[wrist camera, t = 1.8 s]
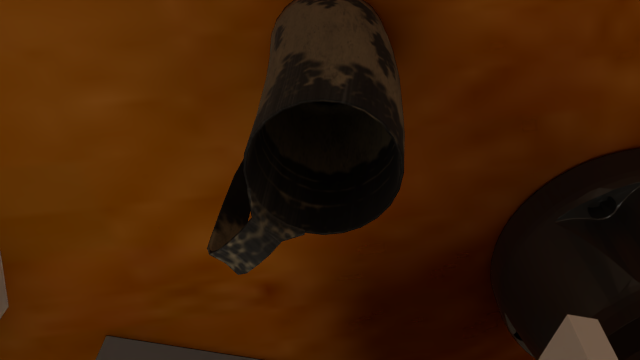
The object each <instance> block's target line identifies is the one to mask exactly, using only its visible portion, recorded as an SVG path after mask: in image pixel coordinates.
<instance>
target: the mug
mask: <svg viewBox="0 0 640 360" xmlns="http://www.w3.org/2000/svg"><path fill="white" fill-rule="evenodd" d="M404 139H405V134H404V119H403V108H402V98H401V88H400V78H399V74H398V70H397V66H396V62H395V58H394V53H393V50H392V47H391V44H390V41H389V39H388V36H387V34H386V32H385V30H384V27H383V24H382V22H381V19H380V18H379V16H378V15H377V13H376V12H375V11H374V9H373V8H372V7H371V6H370V5H369V4H368V3H366V2H365V1H364V0H294V1H292V2H291V3H290V4H289V5H287V6H286V7H285V9H284V10H283V11H282V13H281V14H280V16H279V17H278V18H277V20H276V23H275V26H274V29H273V31H272V35H271V47H270V59H269V65H268V71H267V77H266V81H265V85H264V89H263V93H262V96H261V100H260V104H259V108H258V112H257V116H256V119H255V122H254V125H253V128H252V131H251V134H250V137H249V140H248V143H247V146H246V149H245V152H244V159H243V161H242V163H241V164H240V166H239V168H238V170H237V172H236V174H235V175H234V178H233V180H232V183H231V185H230V188H229V190H228V192H227V195H226V197H225V200H224V202H223V205H222V208H221V211H220V213H219V216H218V219H217V221H216V224H215V227H214V230H213V232H212V235H211V238H210V241H209V244H208V248H207V249H208V252H209V255H211V256H213V257H215V258H217V259H219V260H221V261H223V262H224V263H226V264H227V265H228V266H229V267H230V268H231V269H232V270H233V271H235V272H236V273H237V274H238V275H240V274H245V273H248V272H249V271H250V270H252V269H253V268H254V267H256V266H257V265H258V264H260V263H261V262H262V261H263V260H264V259H265V258H267V257H268V256H269V255H270V254H271V253H272V252H273V251H274V249H275V248H276V247H277V246H278V245H279V244H280V243H281V242H282V241H285V240H288V239H292V238H295V237H298V236H301V235H304V233H312V234H321V235H327V234H338V233H345V232H348V231H351V230H354V229H357V228H361V227H363V226H364V225H366V224H368V223H369V222H371V221H373V220H375V219H376V218H378V217H379V216H380V215H381V214H382V213H383V212H384V211H385V210H386V209H387V208H388V207H389V206H390V205H391V204H392V202H393V200H394V198H395V197H396V195H397V193H398V192H399V190H400V186H401V182H402V178H403V174H404ZM250 211H251V216H252V218H251V219H250V220H249V221H248V218H249V214H250Z"/></svg>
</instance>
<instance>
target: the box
mask: <svg viewBox="0 0 640 360" xmlns="http://www.w3.org/2000/svg"><path fill="white" fill-rule="evenodd" d="M96 360H259V359H252V358H246V357H239V356H233V355H227V354H220V353H214V352H207V351H201V350H195V349H188V348H182V347H175V346H169V345H163V344H156V343H150V342H143V341H137V340H131V339H124V338H118V337H111V336H106V338H105V340H104V342H103V345H102V347H101V349H100V351H99V353H98V356H97V358H96Z"/></svg>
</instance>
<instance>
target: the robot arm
mask: <svg viewBox="0 0 640 360" xmlns="http://www.w3.org/2000/svg"><path fill="white" fill-rule="evenodd" d="M491 283H492V288H493V292H494V295H495V298H496V301H497V304H498V307H499V310H500V313H501V316H502V318H503V321H504V323H505V325H506V326H507V328H508V330H509V332H510V333H511V335H512V336H513V337H514V339H515V340H516V341H517V342H518V343H519V345H520V346H521V347H522V348H523V349H524V350H525V351H526V352H528V353H529V354H530V355H531V356H533V357H534V358H535V359H536V360H640V149H634V150H628V151H623V152H618V153H614V154H611V155H607V156H604V157H601V158H598V159H595V160H592V161H590V162H587V163H585V164H582V165H580V166H578V167H576V168H574V169H572V170H570V171H568V172H566V173H564V174H562V175H561V176H559V177H557V178H556V179H554V180H552V181H551V182H549V183H548V184H547V185H545V186H544V187H542V188H541V189H540V190H539V191H537V192H536V193H535V194H534V195H532V196H531V197H530V198H529V199H528V200H527V201H526V202H525V203H524V204H523V205H522V206H521V207H520V208H519V209H518V210H517V211H516V213H515V214H514V215H513V216H512V218H511V219H510V220H509V222H508V223H507V225H506V226H505V228H504V229H503V231H502V233H501V235H500V237H499V239H498V241H497V244H496V246H495V249H494V252H493V257H492V262H491ZM7 308H8V299H7V293H6V286H5V279H4V272H3V266H2V259H1V252H0V318H1V317H2V315H3V314H4V312H5V311H6V309H7Z"/></svg>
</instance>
